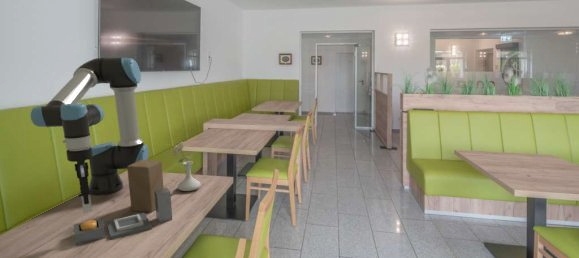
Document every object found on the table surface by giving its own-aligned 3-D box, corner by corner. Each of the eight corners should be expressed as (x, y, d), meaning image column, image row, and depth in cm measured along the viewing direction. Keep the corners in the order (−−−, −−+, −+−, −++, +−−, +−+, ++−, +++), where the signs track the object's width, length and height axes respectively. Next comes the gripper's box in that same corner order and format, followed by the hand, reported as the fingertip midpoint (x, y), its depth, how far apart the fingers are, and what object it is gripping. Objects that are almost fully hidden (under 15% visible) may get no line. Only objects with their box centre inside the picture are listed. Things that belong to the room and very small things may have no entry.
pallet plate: (106, 224, 130) (105, 218, 130) (144, 215, 138) (144, 210, 138) (110, 239, 119) (110, 233, 118) (152, 228, 127) (151, 223, 126)
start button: (81, 230, 122) (80, 222, 121) (96, 226, 124) (95, 218, 124) (81, 235, 117) (80, 227, 117) (97, 231, 120) (96, 224, 120)
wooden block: (151, 212, 140) (147, 167, 137) (130, 210, 142) (126, 165, 139) (165, 203, 150) (161, 160, 146) (145, 201, 152) (141, 159, 148)
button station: (75, 234, 122) (73, 224, 122) (102, 227, 127) (101, 218, 127) (75, 245, 115) (74, 234, 114) (105, 237, 120) (104, 227, 119)
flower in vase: (191, 183, 175) (188, 137, 170) (205, 187, 169) (203, 140, 164) (169, 190, 165) (166, 141, 160) (184, 196, 158) (181, 145, 153)
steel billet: (156, 218, 135) (154, 190, 133) (169, 215, 138) (167, 187, 136) (159, 222, 131) (157, 194, 129) (172, 219, 134) (170, 191, 132)
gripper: (65, 145, 118) (74, 207, 123) (66, 154, 108) (76, 221, 113) (90, 142, 122) (97, 202, 127) (92, 150, 112) (101, 215, 117)
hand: (87, 211), depth 120 cm, fingers closed
